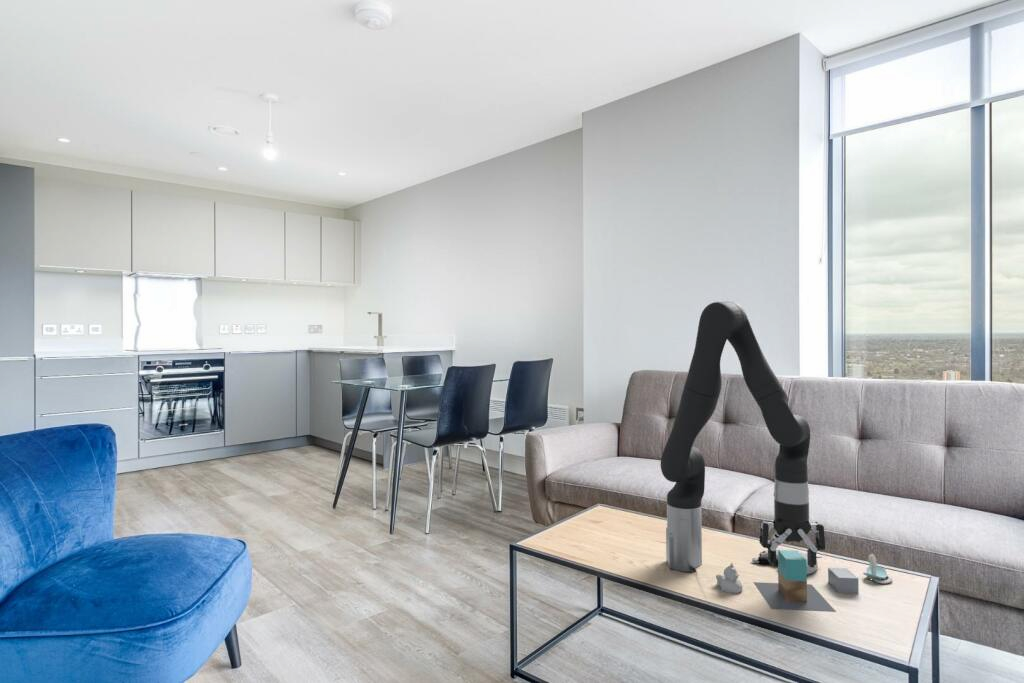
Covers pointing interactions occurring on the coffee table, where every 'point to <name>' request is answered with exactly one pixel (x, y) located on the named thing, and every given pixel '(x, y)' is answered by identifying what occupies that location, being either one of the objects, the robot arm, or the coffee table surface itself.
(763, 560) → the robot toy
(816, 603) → the base plate
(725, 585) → the rubber duck
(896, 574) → the coffee table surface
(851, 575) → the grey brick
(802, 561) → the teal brick
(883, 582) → the pacifier
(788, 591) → the base brick
